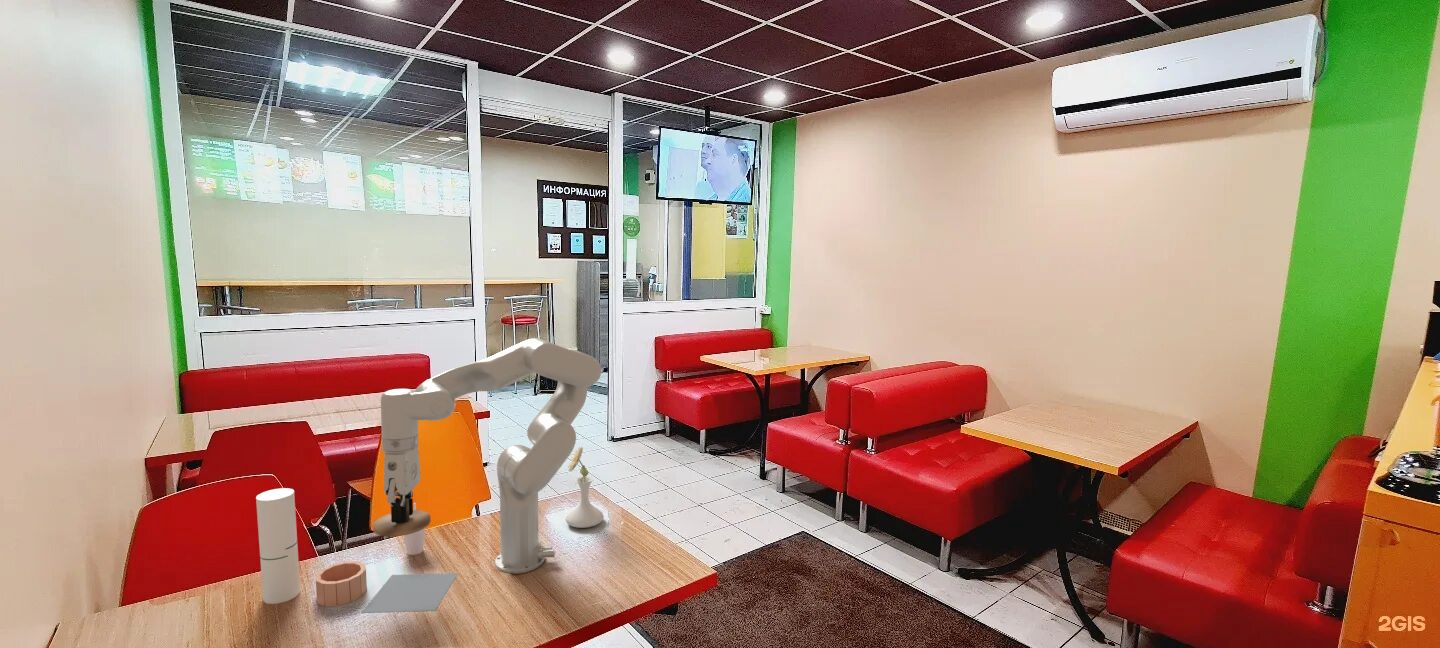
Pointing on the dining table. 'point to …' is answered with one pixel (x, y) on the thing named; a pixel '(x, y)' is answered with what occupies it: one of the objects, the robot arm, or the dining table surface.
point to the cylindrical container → (278, 545)
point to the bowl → (341, 583)
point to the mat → (411, 593)
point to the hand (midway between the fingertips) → (402, 517)
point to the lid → (402, 523)
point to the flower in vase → (583, 499)
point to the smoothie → (415, 541)
